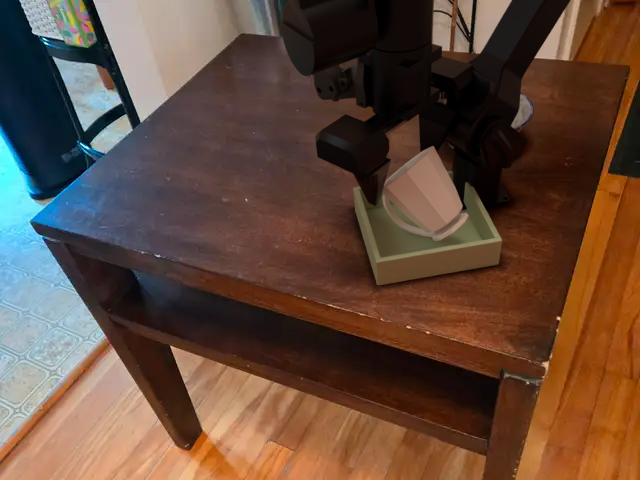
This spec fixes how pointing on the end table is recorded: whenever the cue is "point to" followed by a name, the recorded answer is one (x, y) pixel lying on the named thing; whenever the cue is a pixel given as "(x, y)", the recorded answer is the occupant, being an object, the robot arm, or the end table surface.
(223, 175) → the end table surface
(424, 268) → the tray
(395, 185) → the cup
